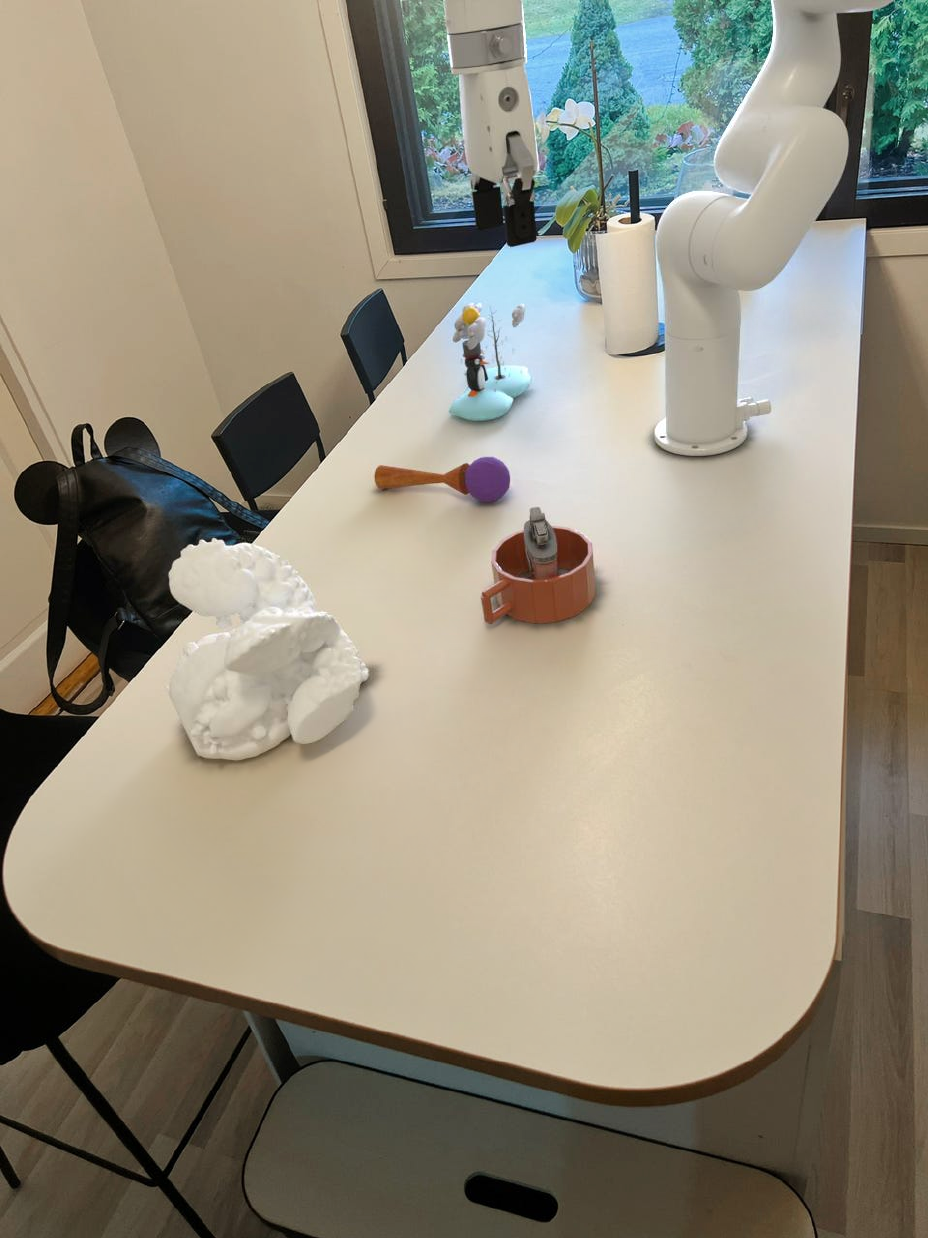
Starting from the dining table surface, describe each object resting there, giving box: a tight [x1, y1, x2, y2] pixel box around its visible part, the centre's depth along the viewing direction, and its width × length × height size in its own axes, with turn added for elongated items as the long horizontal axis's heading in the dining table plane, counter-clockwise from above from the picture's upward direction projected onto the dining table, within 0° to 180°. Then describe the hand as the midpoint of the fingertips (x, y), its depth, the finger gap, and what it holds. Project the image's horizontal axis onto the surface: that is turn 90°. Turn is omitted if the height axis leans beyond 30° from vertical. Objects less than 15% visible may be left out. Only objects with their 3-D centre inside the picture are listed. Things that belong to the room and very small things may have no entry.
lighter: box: [523, 506, 559, 580], centre depth 95 cm, size 8×3×10 cm, turn 5°
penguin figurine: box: [448, 302, 532, 422], centre depth 139 cm, size 20×11×15 cm, turn 157°
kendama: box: [373, 456, 511, 503], centre depth 119 cm, size 6×6×20 cm
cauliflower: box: [164, 537, 370, 761], centre depth 85 cm, size 19×20×20 cm
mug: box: [480, 525, 597, 625], centre depth 96 cm, size 14×11×6 cm
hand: (505, 235), depth 96 cm, fingers open, 9 cm apart
